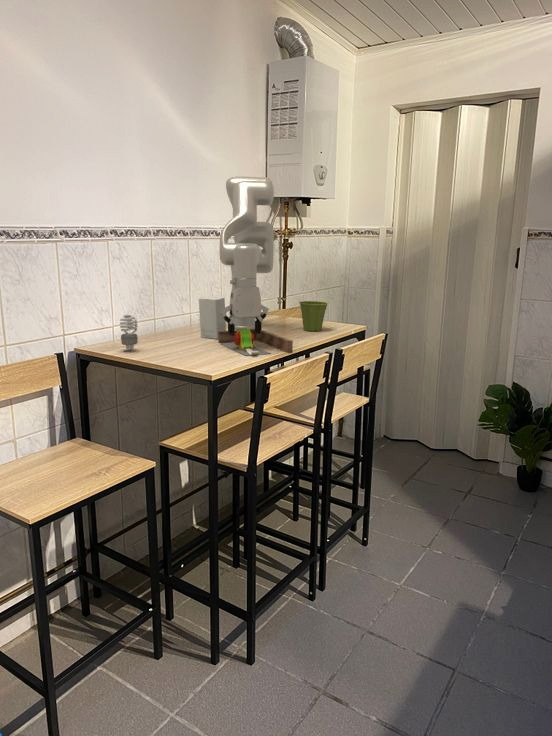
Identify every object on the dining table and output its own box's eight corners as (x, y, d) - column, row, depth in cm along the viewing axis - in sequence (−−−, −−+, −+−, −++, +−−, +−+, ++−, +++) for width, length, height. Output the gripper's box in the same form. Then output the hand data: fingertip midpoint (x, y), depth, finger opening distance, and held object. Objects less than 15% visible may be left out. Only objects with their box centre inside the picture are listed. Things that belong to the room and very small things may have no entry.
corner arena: (218, 342, 206) (218, 331, 205) (258, 339, 213) (258, 328, 212) (249, 356, 184) (249, 344, 183) (292, 352, 191) (292, 340, 190)
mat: (220, 344, 203) (220, 343, 203) (243, 342, 207) (243, 341, 207) (245, 356, 185) (245, 355, 185) (270, 353, 189) (270, 353, 189)
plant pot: (326, 333, 228) (328, 304, 225) (297, 332, 229) (297, 303, 227) (327, 328, 239) (328, 301, 237) (299, 327, 241) (299, 300, 238)
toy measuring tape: (248, 344, 203) (248, 325, 202) (264, 355, 185) (265, 335, 184) (230, 344, 201) (230, 326, 199) (245, 356, 183) (245, 336, 182)
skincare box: (226, 337, 216) (226, 297, 212) (216, 339, 211) (216, 299, 207) (209, 334, 220) (208, 295, 217) (198, 337, 215) (198, 297, 212)
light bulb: (117, 350, 189) (115, 314, 187) (132, 348, 194) (130, 312, 191) (127, 353, 186) (125, 316, 183) (142, 350, 190) (140, 314, 187)
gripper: (225, 285, 184) (225, 338, 188) (273, 283, 192) (272, 334, 196) (216, 282, 190) (216, 333, 194) (263, 281, 198) (262, 330, 202)
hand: (244, 334), depth 195 cm, fingers open, 9 cm apart
